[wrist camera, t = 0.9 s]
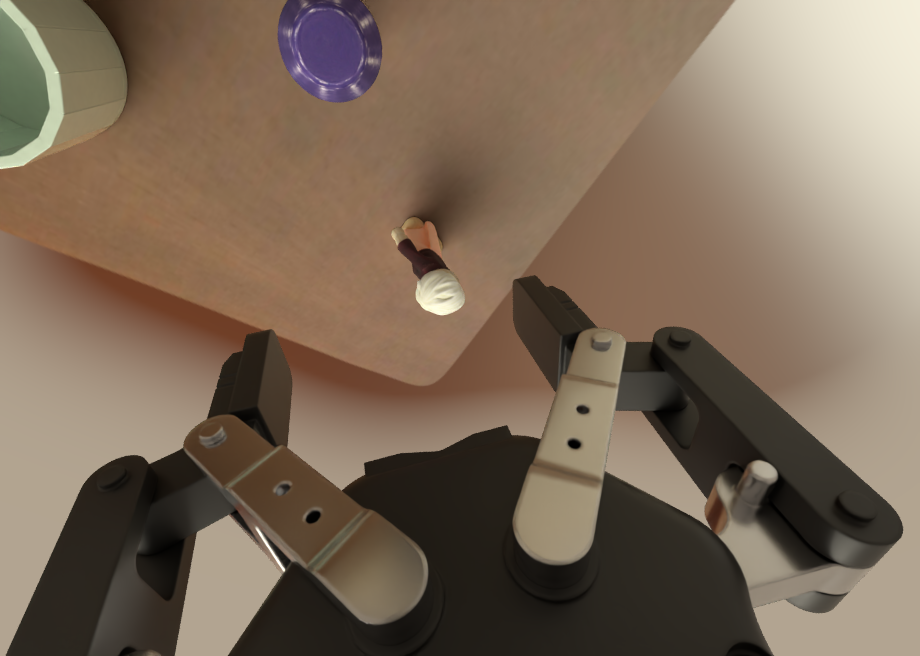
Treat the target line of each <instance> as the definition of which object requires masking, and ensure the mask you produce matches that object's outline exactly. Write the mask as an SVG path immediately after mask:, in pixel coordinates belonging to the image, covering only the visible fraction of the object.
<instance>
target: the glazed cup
mask: <svg viewBox="0 0 920 656" xmlns="http://www.w3.org/2000/svg"><path fill="white" fill-rule="evenodd" d="M126 97H127V75H126V69H125V65H124V61H123V59H122V56H121V53H120V51H119V48H118V47H117V45H116V43H115V41H114V39H113V37H112V35H111V34H110V32H109V31H108V29H107V28H106V26H105V25H104V23H103V22H102V21H101V20H100V18H99V17H98V16H97V15H96V13H95V12H94V11H93V10H92V9H91V8H90V7H89V6H88V5H87V4H86V3H85V2H84V1H83V0H0V169H4V168H11V167H19V166H23V165H26V164H29V163H31V162H34V161H36V160H39V159H41V158H44V157H46V156H49V155H51V154H54V153H56V152H59V151H62V150H64V149H67V148H69V147H72V146H74V145H77V144H79V143H82V142H84V141H87V140H89V139H91V138H93V137H94V136H96V135H98V134H100V133H102V132H103V131H105V130H107V129H108V128H109V127H110V126H112V125H113V124H114V122H115V121H116V120H117V119H118V118H119V116H120V114H121V112H122V111H123V108H124V105H125V103H126Z"/></svg>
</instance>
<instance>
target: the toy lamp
mask: <svg viewBox="0 0 920 656" xmlns="http://www.w3.org/2000/svg"><path fill="white" fill-rule="evenodd" d="M278 43H279V48H280V52H281V56H282V59H283V61H284V63H285V66H286V68H287V70H288V71H289V73H290V74H291V76H292V77H293V79H294V80H295V81H296V82H297V83H298V84H299V85H300V86H301V87H302V88H303V89H304V90H306V91H307V92H308V93H310V94H311V95H313V96H315V97H317V98H319V99H321V100H325V101H329V102H347V101H350V100H353V99H355V98H358V97H360V96H361V95H362V94H364V93H365V92H366V91H367V90H368V89H369V88H370V87H371V86H372V84H373V83H374V81H375V79H376V77H377V75H378V72H379V69H380V65H381V59H382V43H381V38H380V34H379V30H378V28H377V25H376V22H375V20H374V18H373V16H372V15H371V13H370V12H369V10H368V9H367V8H366V6H365V5H364V4H363V3H362V2H361V1H360V0H288V1H287V2H286V4H285V6H284V8H283V10H282V12H281V15H280V19H279V25H278Z"/></svg>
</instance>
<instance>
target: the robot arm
mask: <svg viewBox="0 0 920 656" xmlns="http://www.w3.org/2000/svg"><path fill="white" fill-rule="evenodd" d="M513 321H514V325H515V329H516V331H517V334H518V335H519V337H520V338H521V340H522V342H523V343H524V344H525V346H526V348H527V349H528V350H529V352H530V354H531V355H532V357H533V359H534V360H535V362H536V363H537V365H538V366H539V368H540V369H541V371H542V372H543V374H544V375H545V377H546V379H547V380H548V382H549V383H550V384H551V386H552V388H553V389H554V391H555V392H556V394H555V397H554V401H553V404H552V407H551V410H550V413H549V416H548V419H547V422H546V425H545V428H544V432H543V435H542V438H541V439H538V438H534V437H529V436H518V435H511V433H510V431H509V429H508V426H507V425H506V426H502V427H498V428H495V429H491V430H487V431H484V432H480V433H476V434H472V435H471V436H469V437H467V438H465V439H463V440H461V441H459V442H457V443H455V444H453V445H451V446H449V447H447V448H445V449H443V450H441V451H435V452H417V453H400V454H396V455H393V456H388V457H385V458H381V459H377V460H374V461H370V462H366V463H364V466H365V475H364V476H362V477H360V478H358V479H357V480H355V481H354V482H352V483H351V484H349V485H348V486H347V487H345V489H343V490H342V491H341V490H340V489H339V488H337V487H336V486H335V485H334V484H332V483H331V482H330V481H329V480H327V479H326V478H325V477H324V476H322V475H321V474H320V473H318V472H317V471H316V470H315V469H313V468H312V467H311V466H310V465H308V464H307V463H306V462H305V461H303V460H302V459H301V458H300V457H298V456H297V455H296V454H294V453H293V452H292V451H291V450H289V449H288V448H287V444H288V432H289V420H290V408H291V395H292V377H291V372H290V368H289V366H288V363H287V361H286V358H285V356H284V353H283V351H282V348H281V346H280V343H279V341H278V339H277V336H276V334H275V332H274V331H273V330H272V329H270V330H265V331H261V332H256V333H251V334H248V335H247V336H246V339H245V343H244V347H243V351H241V352H237V353H233V354H232V355H231V356H230V357H229V358H228V360H227V361H226V362H225V363H224V365H223V367H222V369H221V373H220V376H219V377H220V379H219V380H218V383H217V389H216V390H215V393H214V397H213V400H212V404H211V407H210V410H209V414H208V417H207V420H205V421H203V422H202V423H200V424H199V425H197V426H196V427H195V428H194V429H192V430H191V432H190V433H189V434H188V435H187V437H186V439H185V441H184V445H183V446H184V447H183V448H182V449H180V450H179V451H177V452H175V453H173V454H170V455H168V456H166V457H164V458H162V459H160V460H157V461H155V462H153V463H151V464H148V462H147V461H146V460H145V459H144V458H143V457H141V456H138V455H130V456H124V457H121V458H118V459H115V460H113V461H111V462H109V463H107V464H106V465H104V466H102V467H101V468H99V469H98V470H97V471H95V472H94V473H93V474H92V475H91V476H90V477H89V478H88V479H87V481H86V482H85V483H84V484H83V486H82V488H81V490H80V492H79V494H78V497H77V499H76V501H75V503H74V505H73V508H72V510H71V512H70V514H69V516H68V519H67V521H66V523H65V525H64V528H63V530H62V532H61V534H60V537H59V539H58V541H57V543H56V545H55V548H54V550H53V552H52V554H51V557H50V559H49V561H48V563H47V565H46V568H45V570H44V572H43V574H42V576H41V578H40V581H39V583H38V585H37V587H36V590H35V592H34V594H33V596H32V598H31V601H30V603H29V605H28V607H27V610H26V612H25V614H24V616H23V618H22V621H21V623H20V625H19V627H18V630H17V632H16V634H15V636H14V638H13V641H12V643H11V645H10V647H9V649H8V652H7V654H6V656H175V651H176V645H177V640H178V634H179V628H180V623H181V617H182V612H183V606H184V601H185V595H186V590H187V584H188V578H189V573H190V567H191V562H192V556H193V550H194V545H195V539H196V533H197V532H198V531H199V530H201V529H203V528H205V527H207V526H209V525H210V524H212V523H214V522H216V521H218V520H219V519H221V518H223V517H225V516H227V515H229V516H230V517H231V518H232V519H233V520H234V521H235V522H236V523H237V524H238V525H239V526H240V527H241V528H242V529H243V531H244V532H245V533H246V534H247V535H248V536H249V537H250V538H251V539H252V540H253V541H254V542H255V543H256V545H258V547H259V548H260V549H261V550H262V551H263V552H264V553H265V554H266V555H267V556H268V558H269V559H270V560H271V561H272V563H273V564H274V565H275V567H276V568H277V569H278V570H279V571H280V573H281V574H282V576H281V577H280V579H279V580H278V582H277V583H276V585H275V586H274V588H273V589H272V591H271V592H270V594H269V595H268V597H267V598H266V600H265V601H264V603H263V604H262V606H261V607H260V609H259V611H258V612H257V613H256V615H255V616H254V618H253V619H252V621H251V622H250V624H249V625H248V627H247V628H246V630H245V631H244V632H243V634H242V635H241V637H240V638H239V640H238V641H237V643H236V644H235V646H234V647H233V649H232V650H231V652H230V653H229V655H228V656H774V655H773V654H772V652H771V650H770V648H769V646H768V644H767V642H766V640H765V638H764V636H763V634H762V631H761V629H760V627H759V624H758V622H757V619H756V616H755V613H754V610H753V608H756V607H759V606H763V605H766V604H770V603H773V602H777V601H780V600H784V599H785V600H787V601H788V602H789V603H791V604H793V605H794V606H796V607H798V608H800V609H803V610H805V611H809V612H813V613H825V612H829V611H831V610H832V609H834V607H835V606H836V605H837V604H838V603H839V602H840V601H841V600H842V599H843V598H844V597H845V596H846V595H847V594H848V592H850V590H851V589H852V588H853V587H854V586H855V585H856V584H857V583H858V582H859V581H860V580H861V579H862V578H863V577H864V576H865V575H866V574H867V573H868V572H869V571H870V569H872V567H873V566H874V565H875V564H876V563H877V562H878V561H879V560H880V559H881V558H882V557H883V556H884V555H885V554H886V553H887V552H888V551H889V550H890V548H892V546H893V545H894V544H895V543H896V542H897V541H898V540H899V539H900V538H901V536H902V534H903V526H902V522H901V520H900V517H899V516H898V514H897V513H896V511H895V510H894V509H893V508H892V506H891V505H890V504H889V503H887V501H886V500H884V499H883V498H882V497H881V496H880V495H879V494H877V492H875V491H874V490H873V489H872V488H871V487H870V486H869V485H868V484H866V483H865V482H864V481H863V480H862V479H861V478H860V477H858V476H857V475H856V474H855V473H854V472H853V471H852V470H851V469H850V468H848V467H847V466H846V465H845V464H844V463H843V462H842V461H841V460H839V459H838V458H837V457H836V456H835V455H834V454H833V453H832V452H831V451H829V450H828V449H827V448H826V447H825V446H824V445H823V444H821V443H820V442H819V441H818V440H817V439H816V438H815V437H814V436H812V435H811V434H810V433H809V432H808V431H807V430H806V429H805V428H804V427H802V426H801V425H800V424H799V423H798V422H797V421H796V420H795V419H794V418H792V417H791V416H790V415H789V414H788V413H787V412H786V411H784V410H783V409H782V408H781V407H780V406H779V405H778V404H777V403H776V402H774V401H773V400H772V399H771V398H770V397H769V396H768V395H767V394H765V393H764V392H763V391H762V390H761V389H760V388H759V387H758V386H756V385H755V384H754V383H753V382H752V381H751V380H750V379H748V378H747V377H746V376H745V375H744V374H743V373H742V372H741V371H739V370H738V369H737V368H736V367H735V366H734V365H733V364H732V363H731V362H730V361H728V360H727V359H726V358H725V357H724V356H723V355H722V354H721V353H719V352H718V351H717V350H716V349H715V348H714V347H713V346H712V345H710V344H709V343H708V342H707V341H706V340H705V339H704V338H702V337H701V336H700V335H699V334H697V333H695V332H694V331H692V330H689V329H686V328H681V327H665V328H662V329H659V330H658V331H656V333H655V334H654V337H653V342H626V341H625V339H624V338H623V337H622V336H621V335H620V334H619V333H617V332H615V331H613V330H610V329H606V328H598V327H597V326H596V325H595V324H594V323H593V322H592V321H591V320H590V319H589V318H588V317H587V316H586V315H585V313H584V312H583V311H582V310H581V309H580V308H578V306H577V305H576V304H575V303H574V302H572V299H571V298H570V297H569V296H568V295H567V294H566V293H565V292H564V291H562V290H560V289H557V288H555V287H553V286H549V287H546V286H545V285H544V284H543V283H542V282H541V281H540V279H538V277H537V276H535V275H534V276H529V277H524V278H519V279H515V280H514V281H513ZM615 411H642V413H643V414H644V415H645V417H646V418H647V419H648V421H649V422H650V423H651V425H652V426H653V427H654V428H655V430H656V431H657V433H658V434H659V435H660V437H661V438H662V439H663V441H664V442H665V443H666V445H667V446H668V447H669V449H670V450H671V451H672V453H673V454H674V456H675V457H676V458H677V460H678V461H679V462H680V463H681V465H682V466H683V468H684V469H685V470H686V472H687V473H688V474H689V475H690V477H691V478H692V479H693V481H694V482H695V484H696V485H697V486H698V488H699V489H700V490H701V492H702V493H703V494H704V496H705V497H706V498H707V502H706V505H705V511H704V512H705V517H706V520H707V522H708V524H709V526H710V528H711V529H710V528H708V527H707V526H706V525H704V524H703V523H702V522H700V521H699V520H697V519H695V518H693V517H692V516H690V515H688V514H686V513H684V512H682V511H680V510H679V509H677V508H675V507H673V506H671V505H669V504H667V503H665V502H663V501H661V500H659V499H657V498H655V497H654V496H652V495H650V494H648V493H646V492H644V491H642V490H640V489H638V488H636V487H634V486H633V485H631V484H628V483H627V482H625V481H623V480H621V479H619V478H617V477H615V476H613V475H611V474H610V473H607V472H606V471H605V467H606V461H607V456H608V449H609V444H610V437H611V432H612V426H613V420H614V413H615Z"/></svg>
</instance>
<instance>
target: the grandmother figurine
mask: <svg viewBox="0 0 920 656" xmlns="http://www.w3.org/2000/svg"><path fill="white" fill-rule="evenodd" d="M392 237H393V239H394V240H395V242H396V244H397V246H398V250H399V251H400V252H401V253H402V254H403V255H404V256H405V257H406V258H407V259H409V260H410V261H411V263H412V267H413V272H414V274H415V275H416V276H417V277H418V278H419V279H420V281H417V282H418V283H417V289H416V299H417V301H418V302H419V303H420V305H421V306H422V307H423V308H424V309H425V310H427V311H430V312H433V313H435V314H438V315H446V314H450V313H452V312H454V311H456V310H458V309H460V308H461V307H462V306H463V304H464V302H465V295H464V291H463V289H462V287H461V286H460V283H459V280H458V278H457V276H456V275H455V274H454V273H453V272H451V271H450V270H449V269H448V267H446V265H445V263H444V261H443V260H442V255H441V251H442V248H443V246H442V242H441V241H440V239H439V238H438V237H437V232H436V229H435V226H434V225H433V224H432V223H431V222H430V221H426V222H425V224H424V223H423V222H422V221H421V220H420V219H419V218H416V217H411V218H409V219H408V220H406V222H405V223H404V224H403V226H402V227H401V228H400V227H396V228H394V229H393V230H392Z"/></svg>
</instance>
